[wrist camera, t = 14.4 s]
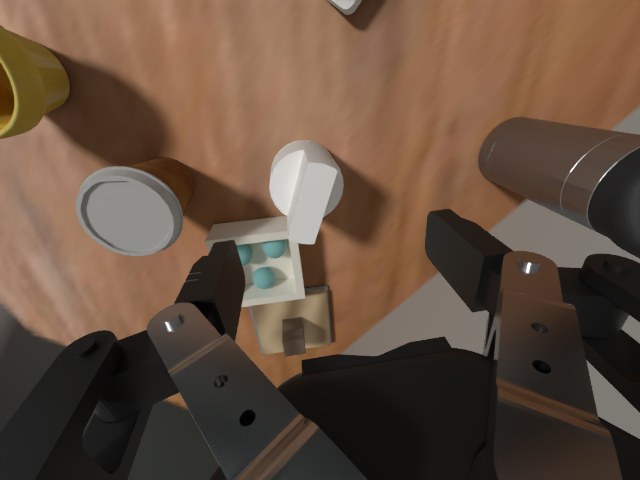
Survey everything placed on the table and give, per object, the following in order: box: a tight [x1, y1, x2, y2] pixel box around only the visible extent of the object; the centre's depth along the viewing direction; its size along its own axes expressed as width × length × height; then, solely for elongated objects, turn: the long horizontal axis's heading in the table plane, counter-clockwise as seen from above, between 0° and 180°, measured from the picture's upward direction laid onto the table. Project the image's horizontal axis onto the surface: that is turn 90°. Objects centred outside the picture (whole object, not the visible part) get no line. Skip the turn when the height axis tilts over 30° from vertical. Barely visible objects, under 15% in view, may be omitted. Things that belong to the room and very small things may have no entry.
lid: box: [251, 289, 331, 356], centre depth 50 cm, size 13×13×6 cm
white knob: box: [269, 140, 344, 244], centre depth 34 cm, size 9×9×12 cm
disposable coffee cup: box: [76, 157, 194, 256], centre depth 33 cm, size 10×10×12 cm
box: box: [205, 216, 305, 307], centre depth 43 cm, size 12×12×5 cm
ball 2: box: [263, 239, 286, 258], centre depth 42 cm, size 3×3×3 cm
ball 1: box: [236, 244, 253, 266], centre depth 42 cm, size 3×3×3 cm
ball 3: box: [253, 267, 275, 289], centre depth 44 cm, size 3×3×3 cm
